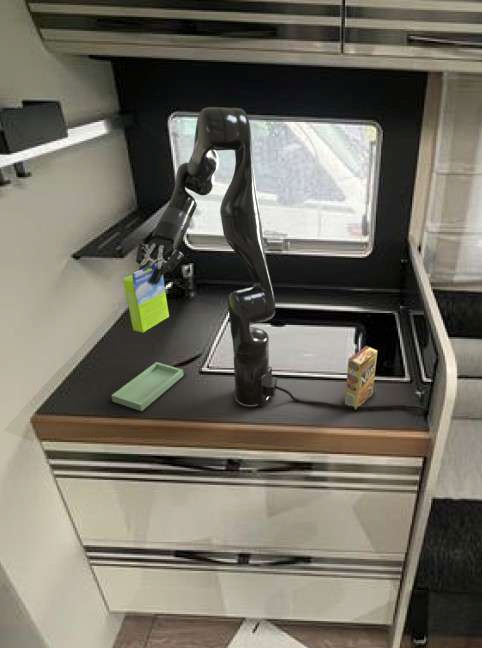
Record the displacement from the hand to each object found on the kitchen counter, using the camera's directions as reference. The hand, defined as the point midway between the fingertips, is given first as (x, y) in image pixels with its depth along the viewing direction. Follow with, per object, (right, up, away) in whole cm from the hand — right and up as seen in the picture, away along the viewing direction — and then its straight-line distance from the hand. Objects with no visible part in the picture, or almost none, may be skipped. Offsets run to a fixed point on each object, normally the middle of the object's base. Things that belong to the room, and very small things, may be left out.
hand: (146, 281), depth 107 cm
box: (-1, -12, +5) cm, 13 cm away
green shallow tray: (-2, -30, +6) cm, 31 cm away
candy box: (+57, -34, +8) cm, 67 cm away
